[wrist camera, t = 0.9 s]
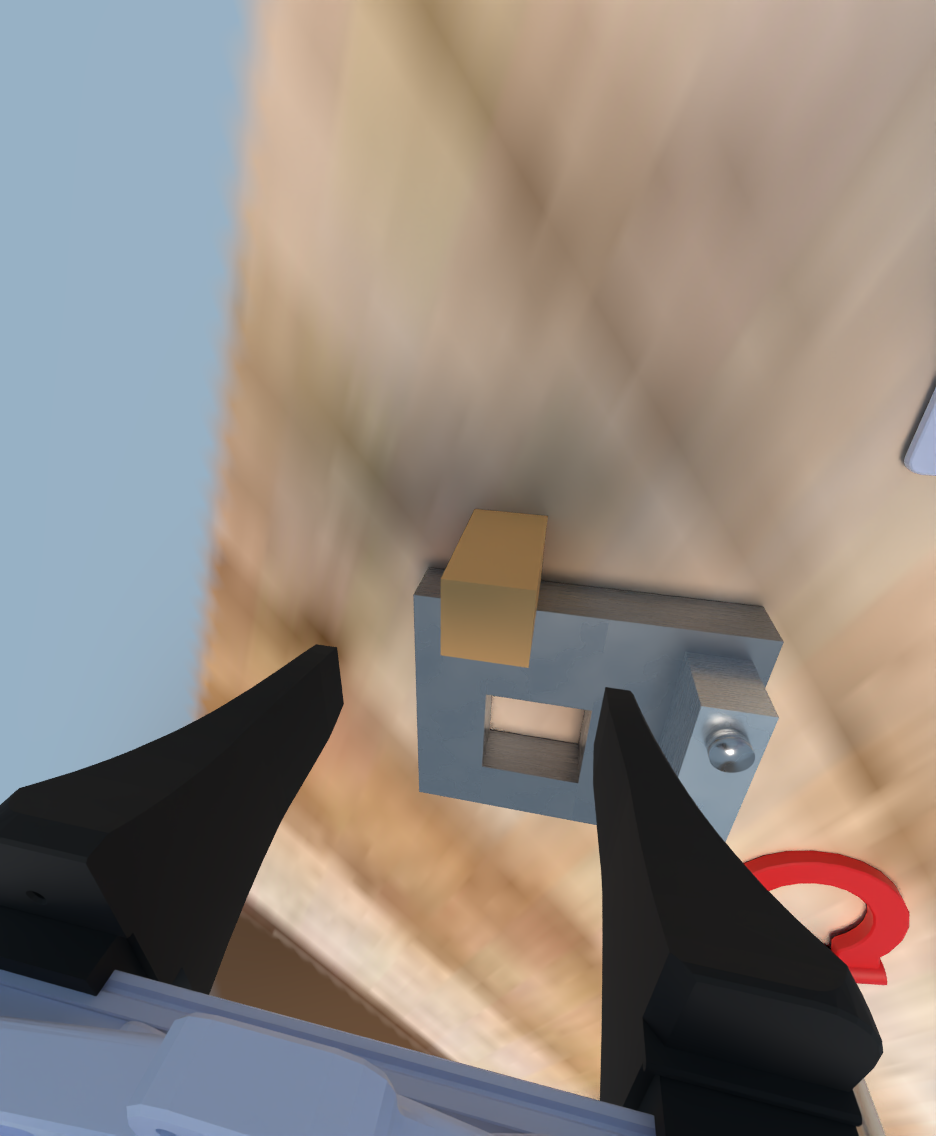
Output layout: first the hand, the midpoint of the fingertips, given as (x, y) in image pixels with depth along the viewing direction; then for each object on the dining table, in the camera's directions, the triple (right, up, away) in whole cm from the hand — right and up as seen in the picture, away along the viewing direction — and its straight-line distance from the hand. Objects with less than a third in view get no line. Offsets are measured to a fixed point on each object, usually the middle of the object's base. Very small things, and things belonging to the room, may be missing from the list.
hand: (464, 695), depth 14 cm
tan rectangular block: (+2, +4, +8) cm, 9 cm away
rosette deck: (+5, -3, +11) cm, 12 cm away
